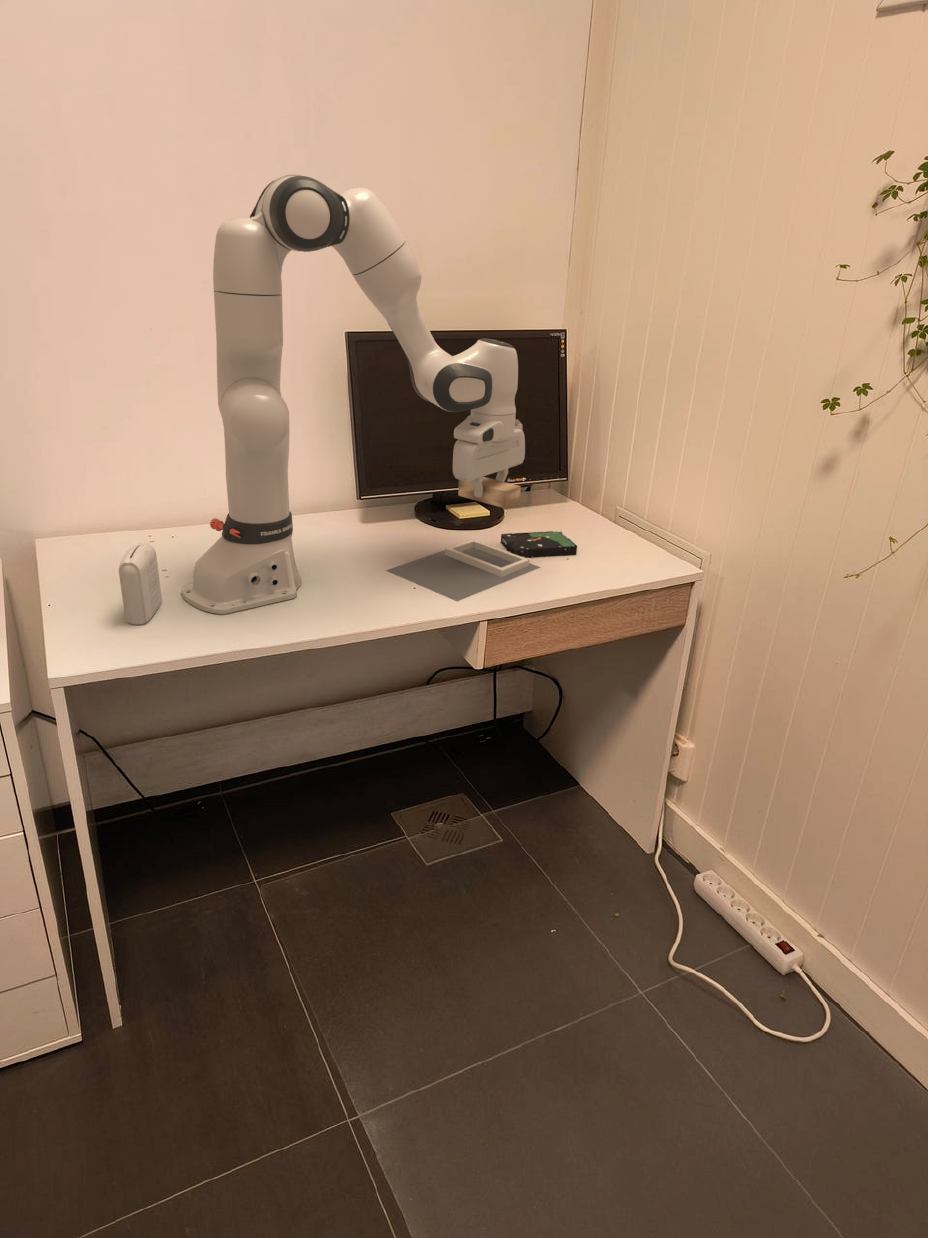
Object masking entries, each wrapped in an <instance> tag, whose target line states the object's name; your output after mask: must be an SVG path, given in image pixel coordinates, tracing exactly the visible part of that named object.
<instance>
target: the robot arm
mask: <svg viewBox="0 0 928 1238" xmlns="http://www.w3.org/2000/svg"><path fill="white" fill-rule="evenodd" d="M330 247H331V248H333V249H334V250H335V251H336V252H337V253H338V255H339V256H340V257H341V258H342V259H343V261H344V263H345V264H346V267H347V268H348V271H350V273H351V275H352V277H353V279H354V280H355V282H356V283H357V285H358V286H359V288H360V289H361V291H362V292H363V294H364V295H365V297H366V298H367V299H368V300H369V301H370V302H371V304H372V305H374V307H375V308H376V310H377V311H378V313H380V314H381V315H382V317H383V318H384V319H385V321H386V322H387V324H388V326H389V328H390V329H391V332H392V334H393V335H394V337H395V338H396V340H397V342H398V344H399V346H400V347H401V349H402V351H403V354H405V356H406V360H407V363H408V367H409V372H410V373H409V374H410V382H411V385H412V388H413V390H414V392H415V393H416V394H417V395H418V396H419V397H420V398H421V399H423V400H425V401H426V402H430V403H432V404H434V405H435V406H437V407H438V408H440V409H442V410H444V411H446V412H450V413H460V412H466V411H470V415H468V416H467V417H466V418H465V419H464V420H463V421H462V422H460V423H459V424H458V425H456V427H455V428H454V430H453V438H454V439H456V442H455V443H454V445H453V452H452V474H453V476H454V478H455V479H456V480H458V481H459V480H463V481H471V482H472V485H473V487H474V496H475V497H478V498H480V497H483V496H485V488H483V486H482V483H481V482H482V481H483V477H485V476H489V475H492V474H495V473H496V477H495V479H494V480H498V481H502V482H505V481H506V479H507V476H508V475H509V469H511V468H514V467H516V466H519V465H522V464H523V463H524V460H525V458H526V456H525V455H526V439H525V438H526V437H525V433H524V431H523V424H522V422H521V421H520V420H519V419H516V415H517V414H516V413H517V408H516V407H517V406H516V402H515V399H516V394H517V391H518V384H519V383H518V381H519V359H518V354H517V353H518V352H517V350H516V349H515V348H514V346H513V345H511V344H510V343H508V342H504V341H500V340H497V339H491V338H484V337H483V338H480V339H478V340H477V341H476V342H475V344H473V345H472V346H470V347H469V348H468V349H465V350H464V351H462V352H460V353H458V354H456V355H451V354H450V353H449V352H447V351H445V350H444V349H443V348H441V347H440V346H439V345H438V344H437V342H436V341H435V338H434V337H433V335H432V333H431V331H430V329H429V326H428V325H427V324H426V321H425V319H424V318H423V315H422V314H421V311H420V310H419V306H418V302H417V295H418V293H419V291H420V288H421V284H422V274H421V270H420V267H419V264H418V262H417V258H416V257H415V256H416V255H415V254H414V252H413V249H412V247H411V246H410V244H409V242H408V240H407V238H406V236H405V235H404V232H403V231H402V230H401V227H400V226H399V224H398V223H397V221H396V220H395V219H394V217H393V216H392V214H391V212H390V211H389V209H387V207H386V206H385V204H383V202H382V200H380V198H379V197H378V196H377V194H375V193H374V191H372V190H371V189H369V188H366V187H354V188H349V189H347V190H345V191H343V192H342V193H338V192H337V191H334V190H333V188H330V187H329V186H327V185H325V184H324V183H322V182H321V181H319V180H317V179H315V178H313V177H309V176H305V175H300V174H293V173H291V174H286V175H283V176H280V177H278V178H276V179H274V180H272V181H271V182H269V184H267V185H266V186H265V188H264V189H263V190H262V191H261V194H260V196H259V197H258V199H257V202H256V203H255V206H254V207H253V210H252V212H251V214H250V215H249V216H248V217H247V216H246V217H245V216H244V217H243V216H241V217H240V216H239V217H235V218H230V219H228V220H227V221H224V222H223V223H222V224H220V226H219V228H218V229H217V232H216V235H215V243H214V249H213V250H214V251H213V267H212V269H213V271H212V274H213V275H212V280H213V281H212V282H213V301H214V303H213V304H214V319H215V320H214V321H215V335H216V337H215V338H216V340H215V341H216V342H215V343H216V382H217V385H216V386H217V404H218V405H217V406H218V409H219V413H220V416H221V420H222V425H223V434H224V436H223V437H224V452H225V453H224V456H225V458H224V459H225V480H226V481H225V483H226V495H227V496H226V497H227V505H228V506H227V507H228V514H227V515H226V518H225V522H224V521H222V520H220V519H218V518H216V517H215V518H212V519H211V520H210V522H209V527H210V528H211V529H212V530H216V531H217V532H221V531H222V532H221V536H220V537H219V538H218V539H217V540H216V542H214V544H212V546H210V547H209V548H208V549H207V550H206V552H204V553H203V555H201V556H200V557H199V558H198V559H197V560H196V562H195V563H194V567H193V568H194V569H193V576H192V582H191V583H188V584H186V585H183V586H182V588H181V596H182V598H183V599H184V600H185V602H187V603H188V604H189V605H192V606H193V607H195V608H196V609H199V610H200V611H201V610H202V611H203V612H208V613H212V614H218V615H225V614H230V613H235V612H238V611H239V612H240V611H243V610H249V609H252V608H257V607H261V606H265V605H271V604H275V603H279V602H283V601H287V600H292V599H295V598H296V597H297V595H298V593H297V591H298V589H299V588H300V586H301V584H302V579H301V576H300V573H299V571H298V567H297V562H296V559H295V554H294V553H295V552H294V549H293V548H294V547H293V539H292V535H293V532H294V525H293V514H292V512H291V511H290V497H289V496H290V494H289V493H290V492H289V473H288V472H289V470H288V469H289V459H290V410H289V407H288V406H287V403H286V401H285V400H284V398H283V397H282V394H281V370H282V356H283V347H284V325H283V324H284V323H283V322H284V320H283V318H284V317H283V289H282V288H283V286H282V285H283V284H282V272H283V265H284V262H285V259H286V257H287V255H289V253H291V251H293V252H304V253H307V252H308V253H310V252H316V251H317V252H318V251H320V250H323V249H325V248H330Z"/></svg>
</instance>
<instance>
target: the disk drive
mask: <svg viewBox="0 0 928 1238" xmlns="http://www.w3.org/2000/svg"><path fill="white" fill-rule="evenodd" d="M500 544H501V545H502V546H503V547H504V548H505V549H506V550H507V552H510V553H512V554H515V555H518V556H521V557H523V558H526V559H530V558H531V559H532V558H533V559H534V558H547V557H548V558H549V557H567V556H568V557H569V556H577V551H578V545H577V544H576V543H575V542H573V540H572V539H571V538H569V537H567V536H566V535H565V534H564V533H563V531H534V532H533V531H532V532H516V533H515V532H514V533H513V532H511V533H501V535H500Z"/></svg>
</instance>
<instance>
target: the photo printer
mask: <svg viewBox="0 0 928 1238" xmlns="http://www.w3.org/2000/svg"><path fill="white" fill-rule="evenodd" d="M159 573H160V572H159V567H158V558H157V552H156V549H155V548H154V547H153V545H151V544H150V543H145V542H144V543H140V542H139V543H136V544H134V545H133V546H131V547H130V548H129V549H128V550H127V551H126V552H125V554H124V555H123V556H122V559H121V560H120V563H119V566H118V575H119V584H120V590H121V596H122V603H123V610H124V617H125V621H126V623H129V624H130V625H134V626H135V625H144V624H146V623H148V622H149V621H150V620H151V619H152V618H153V617H154V615H155V614H156V613H157V610H158V609H159V608H160V607H161V604H162V600H163V599H162V589H161V581H160V574H159Z"/></svg>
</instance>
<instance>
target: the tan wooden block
mask: <svg viewBox="0 0 928 1238" xmlns="http://www.w3.org/2000/svg"><path fill="white" fill-rule="evenodd" d="M481 483H482V486H483V488H485V496H483V497H480V498H478V497H475V496H474V487H473V485H472V482H471V481H463V480H459V479H458V493H457V494H458V495H457V496H459V497H462V498H466V499H470V500H474V501H477V502H481V503H483V504H487V505H491V506H495V507H498V508H503V509H508V508H510V507H513V506H515V505H518V504H520V503H521V491H522V490H521V485H517V484H512V483H509V482H505V481H504V482H502V481H498V480H495V479H494V478H490V477H485V476H483V481H482V482H481Z"/></svg>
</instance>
